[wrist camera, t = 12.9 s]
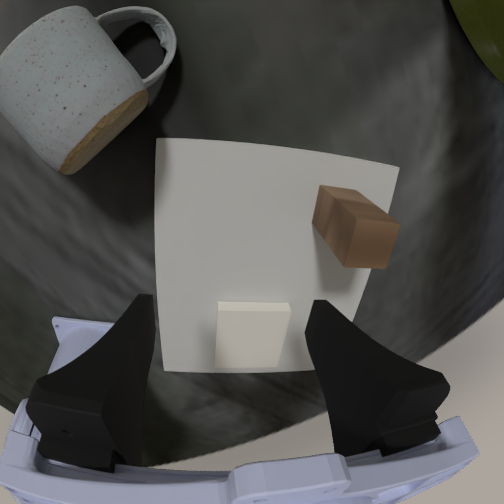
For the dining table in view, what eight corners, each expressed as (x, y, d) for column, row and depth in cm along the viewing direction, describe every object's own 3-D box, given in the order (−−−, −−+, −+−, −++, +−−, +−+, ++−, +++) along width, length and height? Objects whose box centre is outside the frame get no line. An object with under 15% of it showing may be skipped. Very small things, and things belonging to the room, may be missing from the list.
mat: (331, 365, 32) (332, 368, 32) (164, 367, 29) (164, 370, 29) (396, 166, 22) (399, 167, 22) (157, 137, 19) (156, 138, 19)
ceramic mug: (91, 168, 19) (42, 203, 13) (28, 95, 16) (-37, 103, 9) (205, 65, 17) (204, 45, 11) (134, -10, 14) (103, -55, 7)
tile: (288, 302, 26) (274, 357, 29) (217, 300, 25) (213, 357, 29) (291, 311, 25) (277, 367, 28) (218, 310, 24) (214, 367, 27)
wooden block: (347, 226, 23) (385, 269, 18) (311, 222, 23) (343, 267, 17) (356, 189, 22) (400, 224, 16) (319, 184, 22) (357, 219, 16)
